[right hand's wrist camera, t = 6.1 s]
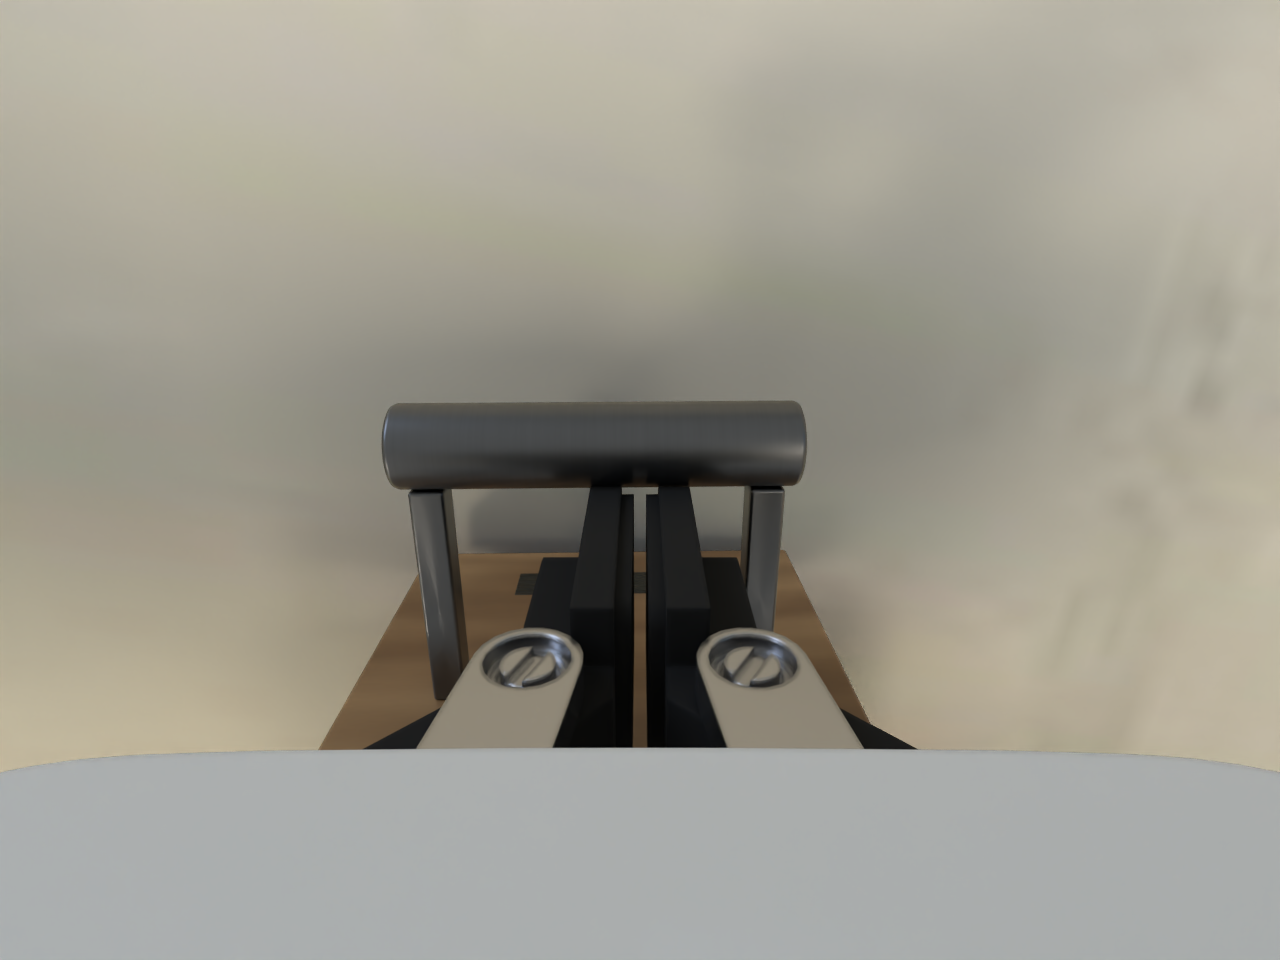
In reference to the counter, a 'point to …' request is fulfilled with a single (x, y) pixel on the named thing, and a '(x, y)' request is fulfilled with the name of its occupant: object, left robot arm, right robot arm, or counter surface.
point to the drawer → (504, 582)
